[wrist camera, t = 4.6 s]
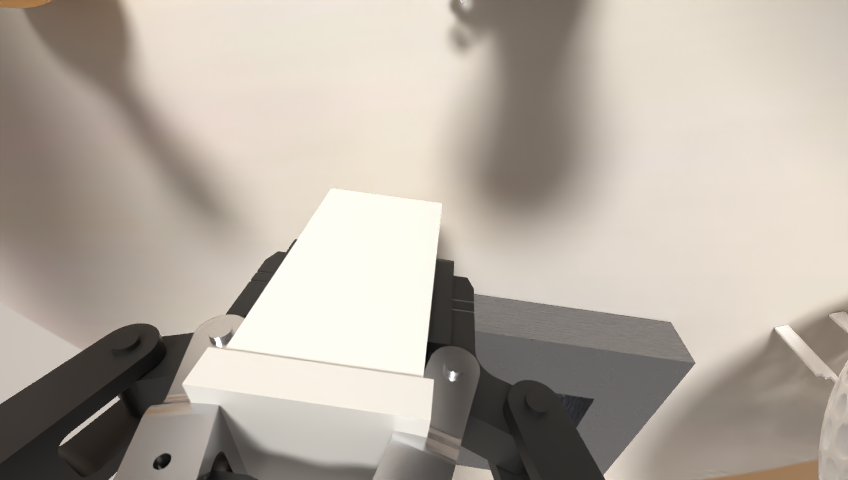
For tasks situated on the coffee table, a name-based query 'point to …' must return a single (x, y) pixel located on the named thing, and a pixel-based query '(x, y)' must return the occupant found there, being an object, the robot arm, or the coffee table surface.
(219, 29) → the coffee table surface
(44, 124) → the coffee table surface
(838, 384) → the decorative heart
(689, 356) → the socket plate
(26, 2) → the figurine
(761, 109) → the coffee table surface
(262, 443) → the plug
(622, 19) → the coffee table surface
